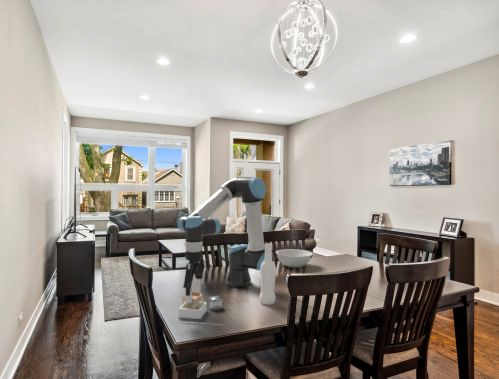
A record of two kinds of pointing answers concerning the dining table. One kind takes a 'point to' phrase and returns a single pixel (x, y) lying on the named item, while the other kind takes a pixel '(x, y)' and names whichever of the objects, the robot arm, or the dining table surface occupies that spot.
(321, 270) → the dining table surface
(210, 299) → the tin
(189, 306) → the block
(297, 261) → the bowl
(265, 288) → the bottle
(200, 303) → the tray white
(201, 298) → the terracotta cup
